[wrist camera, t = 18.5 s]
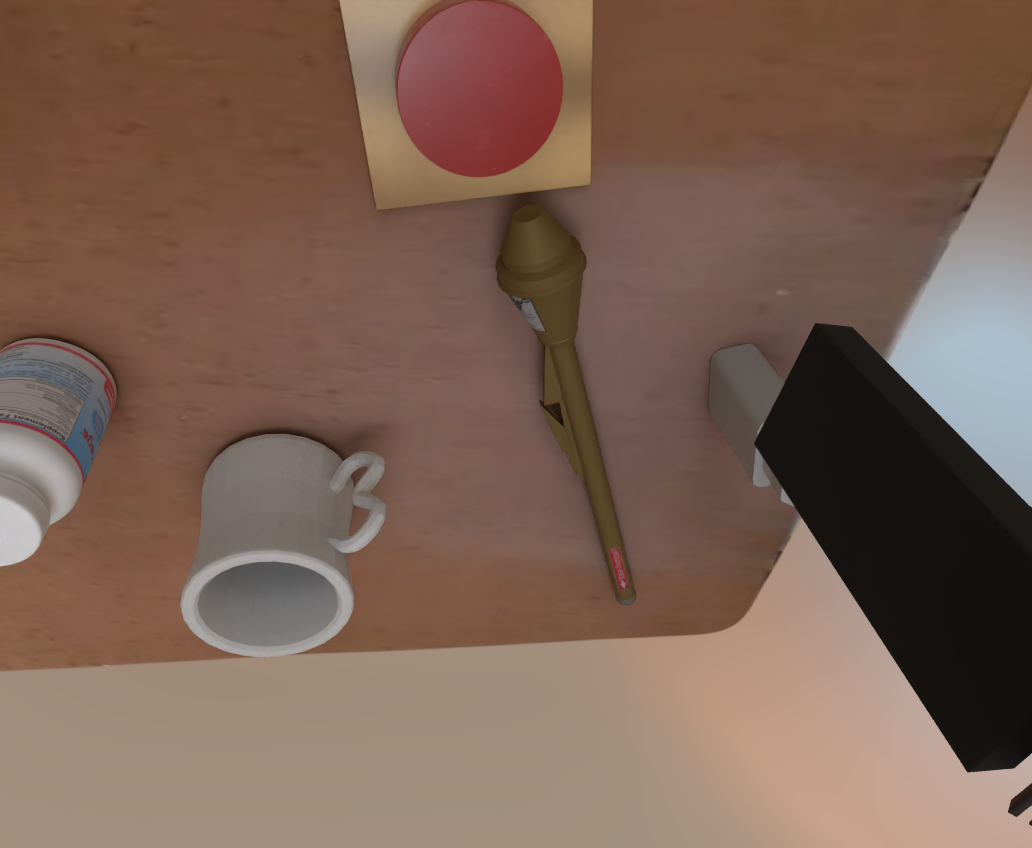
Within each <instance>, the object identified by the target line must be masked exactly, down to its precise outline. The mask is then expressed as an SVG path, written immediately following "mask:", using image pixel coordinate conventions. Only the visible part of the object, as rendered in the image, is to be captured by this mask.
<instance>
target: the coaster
mask: <svg viewBox="0 0 1032 848" xmlns="http://www.w3.org/2000/svg"><path fill="white" fill-rule="evenodd" d="M440 1H442V0H339V3H340V9H341V15H342V20H343V26H344V31H345V37H346V43H347V48H348V54H349V59H350V65H351V71H352V76H353V82H354V88H355V93H356V99H357V104H358V110H359V116H360V121H361V127H362V132H363V138H364V144H365V149H366V155H367V160H368V166H369V172H370V177H371V183H372V188H373V194H374V200H375V205H376V210H384V209H393V208H401V207H409V206H418V205H426V204H434V203H443V202H451V201H459V200H468V199H476V198H484V197H492V196H501V195H509V194H517V193H526V192H534V191H542V190H551V189H559V188H567V187H576V186H584V185H590V184H591V118H592V43H593V0H509V1H511V2H513V3H515V4H516V5H518V6H519V7H521V8H522V9H523V10H524V11H526V12H527V13H528V14H529V15H530V16H531V17H532V18H533V19H534V20H535V21H536V22H537V24H538V25H539V26H540V27H541V28H542V29H543V31H544V32H545V33H546V34H547V36H548V38H549V39H550V41H551V42H552V44H553V46H554V49H555V51H556V53H557V56H558V59H559V62H560V65H561V71H562V78H563V95H562V103H561V108H560V112H559V115H558V119H557V122H556V124H555V126H554V128H553V130H552V132H551V134H550V136H549V137H548V139H547V140H546V142H545V143H544V144H543V146H542V147H541V148H540V149H539V150H538V151H537V152H536V153H535V154H534V155H533V156H532V157H531V158H530V159H528V160H527V161H526V162H525V163H523V164H521V165H520V166H518V167H516V168H515V169H512V170H510V171H508V172H506V173H502V174H499V175H495V176H489V177H468V176H462V175H458V174H454V173H452V172H449V171H446V170H444V169H443V168H441V167H439V166H437V165H436V164H434V163H433V162H431V161H430V160H429V159H427V158H426V157H425V156H424V155H423V154H422V153H421V152H420V151H419V150H418V148H417V147H416V146H415V145H414V143H413V142H412V140H411V139H410V137H409V136H408V134H407V132H406V130H405V127H404V125H403V123H402V120H401V117H400V113H399V108H398V103H397V98H396V92H395V67H396V61H397V56H398V53H399V50H400V47H401V44H402V42H403V40H404V38H405V36H406V34H407V33H408V31H409V30H410V28H411V26H412V25H413V24H414V23H415V21H416V20H417V19H418V18H419V17H420V16H421V15H422V14H423V13H424V12H425V11H426V10H428V9H429V8H430V7H432V6H433V5H435V4H436V3H438V2H440Z"/></svg>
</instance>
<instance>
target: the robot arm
mask: <svg viewBox="0 0 1032 848" xmlns="http://www.w3.org/2000/svg"><path fill="white" fill-rule="evenodd" d="M754 445H755V446H756V448H757V449H758V451H759V453H760V454H761V456H762V457H763V459H764V460H765V462H766V463H767V465H768V466H769V468H770V469H771V471H772V473H773V474H774V476H775V477H776V479H777V480H778V482H779V483H780V485H781V486H782V488H783V489H784V491H785V493H786V494H787V496H788V497H789V499H790V500H791V502H792V503H793V505H794V506H795V508H796V509H797V511H798V513H799V514H800V516H801V517H802V519H803V520H804V522H805V523H806V525H807V526H808V528H809V529H810V531H811V532H812V534H813V536H814V537H815V539H816V540H817V542H818V543H819V545H820V546H821V548H822V549H823V551H824V552H825V554H826V556H827V557H828V559H829V560H830V562H831V563H832V565H833V566H834V568H835V569H836V571H837V572H838V574H839V576H840V577H841V579H842V580H843V582H844V583H845V585H846V586H847V588H848V589H849V591H850V592H851V594H852V596H853V597H854V599H855V600H856V602H857V603H858V605H859V606H860V608H861V609H862V611H863V612H864V614H865V615H866V617H867V619H868V620H869V622H870V623H871V625H872V626H873V628H874V629H875V631H876V632H877V634H878V636H879V637H880V639H881V640H882V642H883V643H884V645H885V646H886V648H887V649H888V651H889V652H890V654H891V656H892V657H893V659H894V660H895V662H896V663H897V664H898V666H899V668H900V669H901V671H902V672H903V674H904V675H905V677H906V679H907V680H908V682H909V683H910V685H911V686H912V688H913V689H914V691H915V692H916V694H917V695H918V697H919V699H920V700H921V702H922V703H923V705H924V706H925V708H926V709H927V711H928V712H929V714H930V715H931V717H932V719H933V720H934V722H935V723H936V725H937V726H938V728H939V729H940V731H941V732H942V734H943V735H944V737H945V739H946V740H947V741H948V743H949V745H950V746H951V748H952V749H953V751H954V752H955V754H956V755H957V757H958V758H959V760H960V761H961V763H962V765H963V766H964V768H965V769H966V771H967V772H978V771H989V770H1001V769H1013V768H1015V767H1016V766H1017V765H1018V764H1020V763H1021V762H1022V761H1023V760H1024V759H1026V758H1027V757H1028V756H1029V755H1030V754H1031V753H1032V507H1030V506H1029V505H1028V504H1027V503H1026V502H1025V501H1024V500H1023V499H1022V498H1021V497H1020V496H1019V495H1018V494H1017V493H1016V492H1015V491H1014V490H1013V489H1012V488H1011V487H1010V486H1009V485H1008V484H1007V483H1006V482H1005V481H1004V480H1003V479H1002V478H1001V477H1000V476H999V475H998V474H997V473H996V472H995V471H994V470H993V469H992V468H991V467H990V466H989V465H988V464H987V463H986V462H985V461H984V460H983V459H982V458H981V457H980V456H979V455H978V454H977V453H976V452H975V451H974V450H973V448H971V447H970V445H968V444H967V443H966V442H965V441H964V439H963V438H961V436H959V434H958V433H957V432H956V431H955V430H954V429H953V428H952V427H951V426H950V425H949V424H948V423H947V422H946V421H945V420H944V419H943V418H942V417H941V416H940V415H939V414H938V413H937V412H936V411H935V410H934V409H933V408H932V407H931V406H930V405H929V404H928V403H927V402H926V401H925V400H924V399H923V398H922V397H921V396H920V395H919V394H918V393H917V392H916V391H915V390H914V389H913V388H912V387H911V386H910V385H909V384H908V383H907V382H906V381H905V380H904V379H903V378H902V377H901V376H900V375H899V374H898V373H897V372H896V371H895V370H894V369H893V368H892V367H891V366H890V365H889V364H888V363H887V362H886V361H885V360H884V359H883V358H882V357H881V356H880V355H879V354H878V353H877V352H876V351H875V350H874V349H873V348H872V347H871V346H870V345H869V344H868V343H867V342H866V341H865V340H864V339H863V337H862V336H861V335H860V334H859V333H858V332H857V331H856V330H855V329H854V328H853V327H847V326H837V325H828V324H818V323H815V325H814V327H813V329H812V331H811V333H810V334H809V336H808V338H807V340H806V342H805V344H804V346H803V348H802V350H801V352H800V354H799V356H798V358H797V360H796V362H795V364H794V366H793V368H792V370H791V372H790V374H789V375H788V377H787V379H786V381H785V383H784V385H783V387H782V389H781V391H780V393H779V395H778V397H777V399H776V401H775V403H774V405H773V407H772V409H771V411H770V413H769V414H768V416H767V418H766V420H765V422H764V424H763V426H762V428H761V430H760V432H759V434H758V436H757V438H756V440H755V442H754ZM1031 805H1032V783H1031V784H1030V785H1029V786H1028V787H1026V788H1025V789H1024V790H1023V791H1022V792H1020V793H1019V794H1018V795H1017V796H1015V797H1014V798H1013V799H1012V800H1011V803H1010V806H1009V810H1008V813H1010V814H1012V815H1014V816H1016V817H1017V816H1019V815H1020V814H1021V813H1022V812H1024V811H1025V810H1026V809H1027V808H1029V807H1030V806H1031ZM1029 824H1030V825H1031V826H1032V820H1031V821H1030V822H1029Z"/></svg>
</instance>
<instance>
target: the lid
mask: <svg viewBox="0 0 1032 848" xmlns="http://www.w3.org/2000/svg"><path fill="white" fill-rule="evenodd" d="M395 92H396V98H397V103H398V108H399V113H400V117H401V120H402V123H403V125H404V127H405V130H406V132H407V134H408V136H409V137H410V139H411V140H412V142H413V143H414V145H415V146H416V147H417V148H418V150H419V151H420V152H421V153H422V154H423V155H424V156H425V157H426V158H427V159H429V160H430V161H431V162H433V163H434V164H436V165H437V166H439V167H441V168H443V169H444V170H446V171H449V172H452V173H454V174H458V175H462V176H468V177H489V176H495V175H499V174H502V173H506V172H508V171H510V170H512V169H515V168H516V167H518V166H520V165H521V164H523V163H525V162H526V161H527V160H528V159H530V158H531V157H532V156H533V155H534V154H535V153H536V152H537V151H538V150H539V149H540V148H541V147H542V146H543V144H544V143H545V142H546V140H547V139H548V137H549V136H550V134H551V132H552V130H553V128H554V126H555V124H556V122H557V119H558V115H559V112H560V108H561V103H562V95H563V78H562V71H561V65H560V62H559V59H558V56H557V53H556V51H555V49H554V46H553V44H552V42H551V41H550V39H549V38H548V36H547V34H546V33H545V32H544V31H543V29H542V28H541V27H540V26H539V25H538V24H537V22H536V21H535V20H534V19H533V18H532V17H531V16H530V15H529V14H528V13H527V12H526V11H524V10H523V9H522V8H521V7H519V6H518V5H516V4H515V3H513V2H511V1H509V0H442V1H440V2H438V3H436V4H435V5H433V6H432V7H430V8H429V9H428V10H426V11H425V12H424V13H423V14H422V15H421V16H420V17H419V18H418V19H417V20H416V21H415V23H414V24H413V25H412V26H411V28H410V30H409V31H408V33H407V34H406V36H405V38H404V40H403V42H402V44H401V47H400V50H399V53H398V56H397V61H396V67H395Z"/></svg>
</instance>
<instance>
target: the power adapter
mask: <svg viewBox="0 0 1032 848" xmlns="http://www.w3.org/2000/svg"><path fill="white" fill-rule="evenodd" d="M783 385H784V382H783V381H782V379H781V378H780V377H779V375H778V374H777V373H776V371H775V370H774V369H773V368H772V366H771V365H770V364H769V362H768V361H767V360H766V359H765V357H764V356H763V355H762V353H761V352H760V351H759V349H758V348H757V347H756V346H755V345H754V344H750V343H748V344H743V345H738V346H733V347H729V348H724V349H721V350H719V351H717V352H716V353H714V355H713V356H712V358H711V362H710V386H709V411H710V413H711V414H712V416H713V418H714V419H715V421H716V423H717V424H718V426H719V428H720V429H721V431H722V433H723V434H724V436H725V437H726V439H727V441H728V442H729V444H730V446H731V447H732V449H733V451H734V452H735V454H736V456H737V457H738V459H739V460H740V462H741V464H742V465H743V467H744V469H745V470H746V472H747V474H748V475H749V477H750V479H751V480H752V482H753V483H754V485H755V486H758V487H765V486H769V485H772V486H773V488H774V489H775V491H776V492H777V494H778V496H779V497H780V499H781V500H782V501H783V502H784V503H787V504H789V505H791V506H794V505H793V503H792V502H791V500H790V499H789V497H788V496H787V494H786V493H785V491H784V489H783V488H782V486H781V485H780V483H779V482H778V480H777V479H776V477H775V476H774V474H773V473H772V471H771V469H770V468H769V466H768V465H767V463H766V462H765V460H764V459H763V457H762V456H761V454H760V453H759V451H758V449H757V448H756V446H755V445H754V442H755V440H756V438H757V436H758V434H759V432H760V430H761V428H762V426H763V424H764V422H765V420H766V418H767V416H768V414H769V413H770V411H771V409H772V407H773V405H774V403H775V401H776V399H777V397H778V395H779V393H780V391H781V389H782V387H783Z"/></svg>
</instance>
